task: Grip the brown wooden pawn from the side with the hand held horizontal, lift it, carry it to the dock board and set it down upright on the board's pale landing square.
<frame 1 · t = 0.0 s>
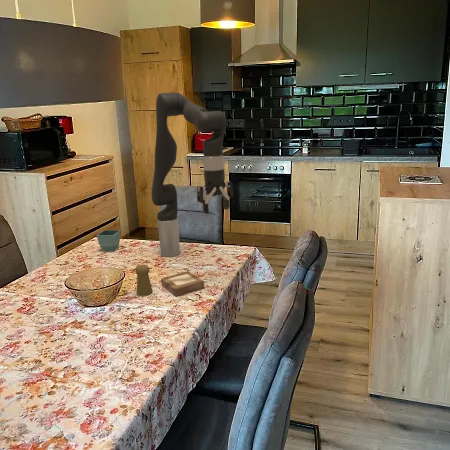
hand: (216, 211, 164), 29 cm above the table, tool pointing down, fingers open, 8 cm apart
brown wooden pawn: (144, 293, 167), on the table
flower pot: (110, 250, 219), on the table
dock board: (182, 287, 170), on the table
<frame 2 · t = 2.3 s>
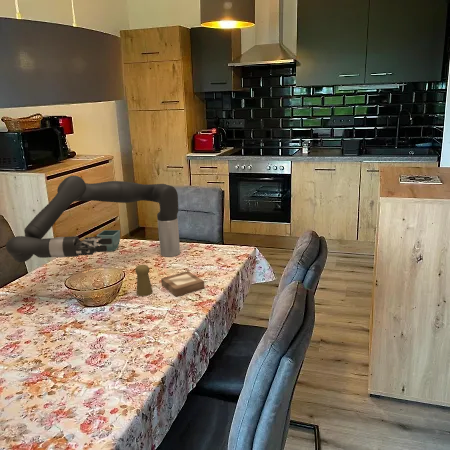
hand: (109, 244, 161), 20 cm above the table, tool horizontal, fingers open, 8 cm apart
nothing on the table moved.
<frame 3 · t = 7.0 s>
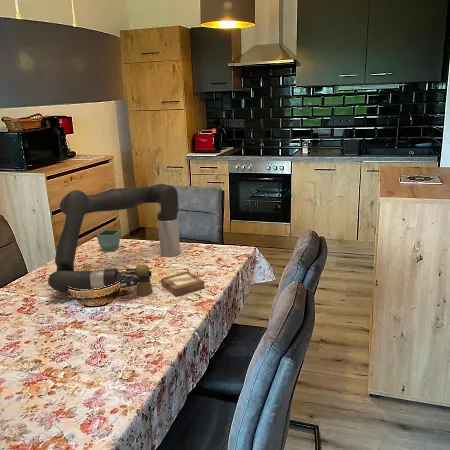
hand: (150, 276, 165), 7 cm above the table, tool horizontal, fingers closed on brown wooden pawn, 4 cm apart
brown wooden pawn: (144, 293, 167), on the table, touching gripper
everything else where it was.
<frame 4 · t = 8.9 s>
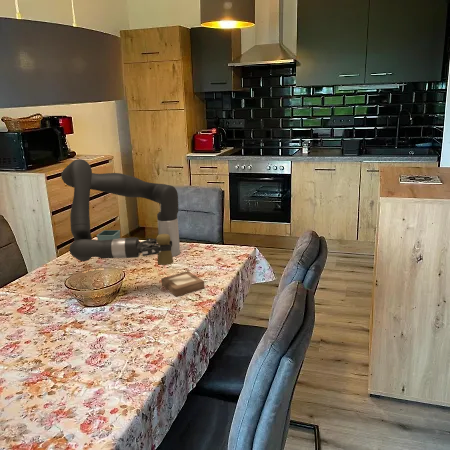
hand: (171, 245, 165), 18 cm above the table, tool horizontal, fingers closed on brown wooden pawn, 4 cm apart
brown wooden pawn: (165, 262, 166), point 11 cm above the table, touching gripper
everything else where it was.
when the fingers open (11 cm above the table, at t = 11.0 s): brown wooden pawn moves 3 cm, point 3 cm above the table.
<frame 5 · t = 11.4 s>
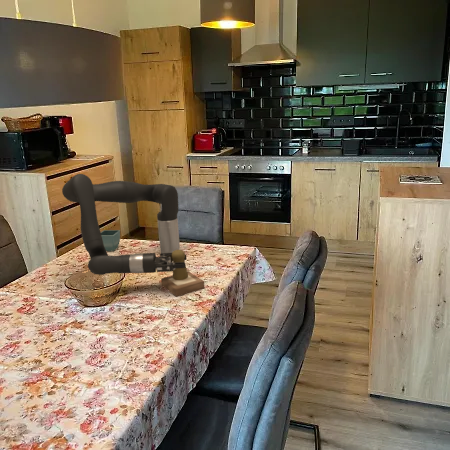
hand: (185, 260, 168), 11 cm above the table, tool horizontal, fingers open, 8 cm apart
brown wooden pawn: (180, 276, 172), point 3 cm above the table, touching gripper
everything else where it was.
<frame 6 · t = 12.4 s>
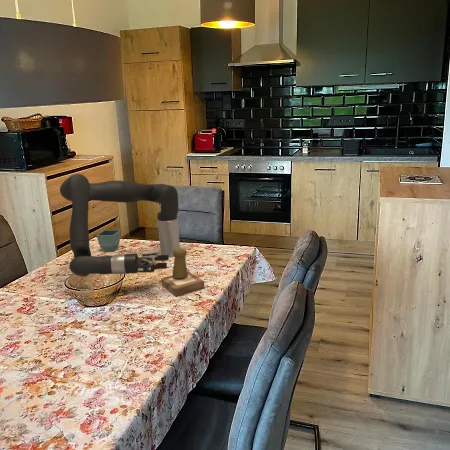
hand: (167, 261, 167), 11 cm above the table, tool horizontal, fingers open, 8 cm apart
brown wooden pawn: (180, 276, 172), point 3 cm above the table, touching dock board
everything else where it was.
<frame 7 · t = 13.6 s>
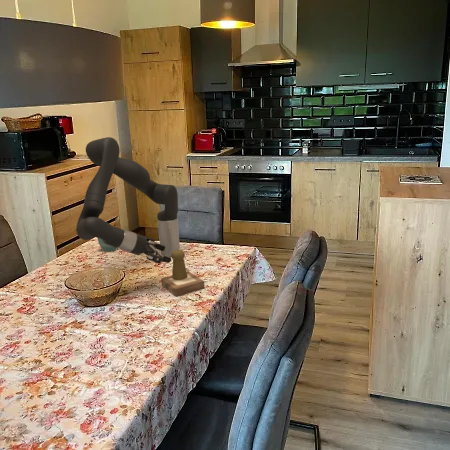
hand: (167, 254, 172), 12 cm above the table, tool tilted 60°, fingers open, 8 cm apart
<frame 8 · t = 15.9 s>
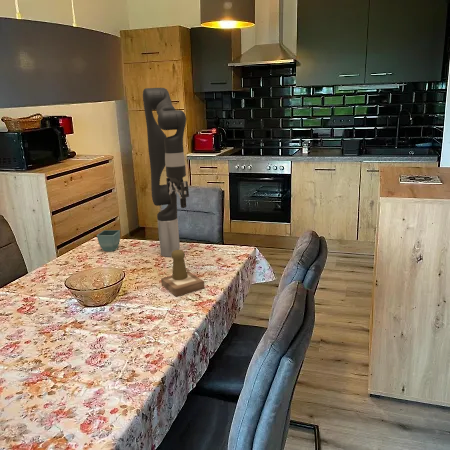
hand: (178, 205, 172), 30 cm above the table, tool pointing down, fingers open, 8 cm apart
nothing on the table moved.
at the end: brown wooden pawn inside the target area on the dock board (2.9 cm from its centre), point 2.9 cm above the dock board's base; brown wooden pawn tilted 0°; the gripper is holding nothing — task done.
